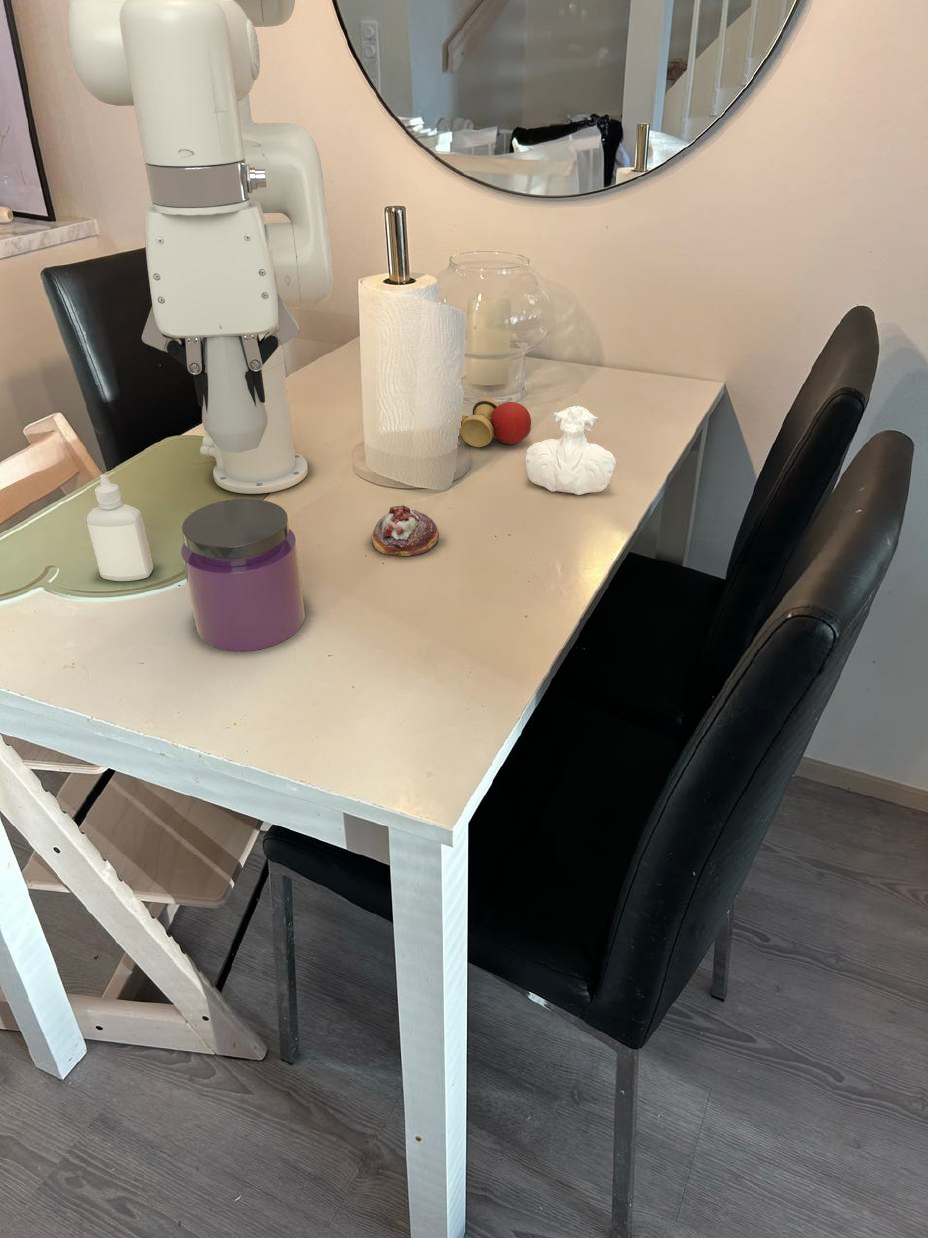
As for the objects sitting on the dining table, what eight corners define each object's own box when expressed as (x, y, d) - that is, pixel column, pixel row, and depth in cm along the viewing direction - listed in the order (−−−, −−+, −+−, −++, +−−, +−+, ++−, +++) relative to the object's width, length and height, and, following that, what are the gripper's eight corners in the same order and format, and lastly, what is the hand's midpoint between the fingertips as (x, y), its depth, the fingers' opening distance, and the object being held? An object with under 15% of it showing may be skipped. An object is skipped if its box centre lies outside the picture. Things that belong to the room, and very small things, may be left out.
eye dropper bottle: (132, 589, 98) (107, 489, 91) (94, 577, 100) (67, 478, 93) (160, 571, 101) (138, 473, 94) (123, 559, 103) (99, 463, 96)
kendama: (406, 451, 132) (525, 448, 126) (401, 408, 129) (522, 403, 124) (423, 441, 138) (537, 437, 133) (419, 399, 136) (535, 394, 131)
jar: (174, 637, 90) (151, 537, 84) (235, 584, 99) (219, 489, 92) (269, 661, 87) (253, 558, 80) (324, 603, 95) (313, 506, 89)
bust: (612, 505, 119) (627, 422, 120) (608, 492, 112) (623, 404, 112) (525, 493, 122) (539, 413, 123) (515, 480, 115) (530, 394, 115)
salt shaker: (256, 459, 79) (234, 309, 72) (195, 454, 80) (168, 305, 73) (280, 433, 84) (262, 290, 77) (222, 429, 85) (199, 287, 78)
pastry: (374, 560, 103) (371, 521, 100) (369, 529, 109) (366, 491, 106) (443, 554, 104) (442, 515, 101) (434, 524, 110) (433, 487, 107)
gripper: (304, 176, 74) (324, 391, 85) (99, 182, 72) (145, 402, 82) (305, 191, 68) (326, 421, 78) (81, 198, 66) (133, 433, 76)
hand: (233, 409), depth 80 cm, fingers closed on salt shaker, 3 cm apart
